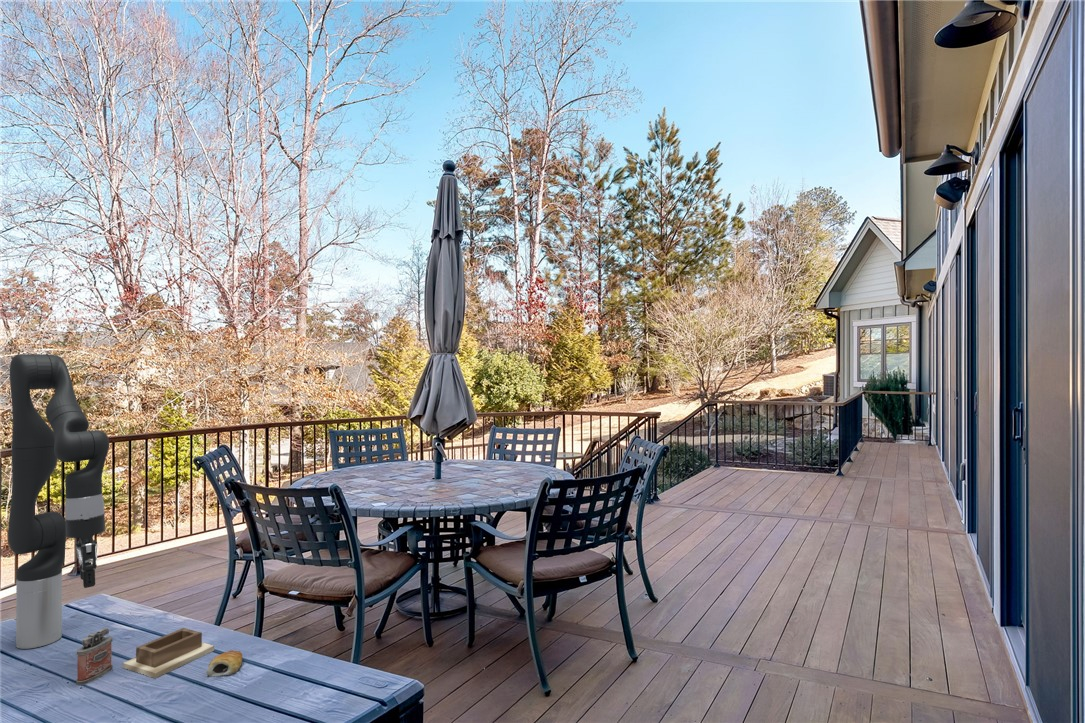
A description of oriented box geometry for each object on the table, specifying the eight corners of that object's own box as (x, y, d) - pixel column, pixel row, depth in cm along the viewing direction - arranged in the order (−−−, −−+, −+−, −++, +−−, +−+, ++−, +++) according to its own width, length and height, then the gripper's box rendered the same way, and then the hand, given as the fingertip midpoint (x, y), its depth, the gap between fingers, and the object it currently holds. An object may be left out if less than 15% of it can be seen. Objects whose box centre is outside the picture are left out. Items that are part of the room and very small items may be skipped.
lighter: (84, 685, 136) (84, 641, 136) (72, 684, 137) (72, 639, 137) (116, 668, 144) (116, 626, 144) (104, 667, 144) (104, 625, 145)
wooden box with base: (122, 667, 144) (122, 648, 144) (182, 641, 158) (182, 623, 158) (155, 678, 139) (155, 657, 139) (214, 650, 153) (214, 631, 153)
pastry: (220, 659, 148) (220, 644, 148) (249, 657, 149) (249, 642, 149) (204, 679, 139) (204, 662, 139) (235, 677, 140) (235, 660, 140)
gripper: (63, 513, 148) (66, 580, 147) (67, 522, 137) (70, 594, 136) (101, 507, 152) (103, 572, 152) (107, 515, 142) (110, 585, 141)
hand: (87, 582), depth 144 cm, fingers open, 8 cm apart
